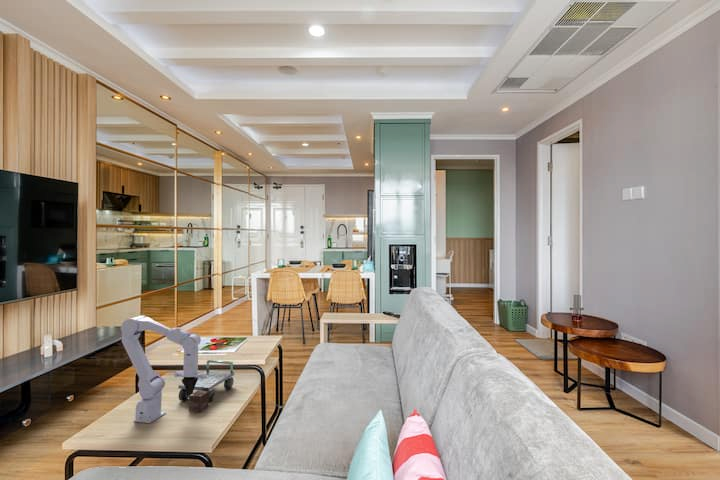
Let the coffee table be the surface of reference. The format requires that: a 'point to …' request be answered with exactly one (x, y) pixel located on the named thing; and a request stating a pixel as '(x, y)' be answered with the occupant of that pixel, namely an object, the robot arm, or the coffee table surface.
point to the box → (198, 401)
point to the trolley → (210, 381)
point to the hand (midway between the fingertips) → (189, 394)
